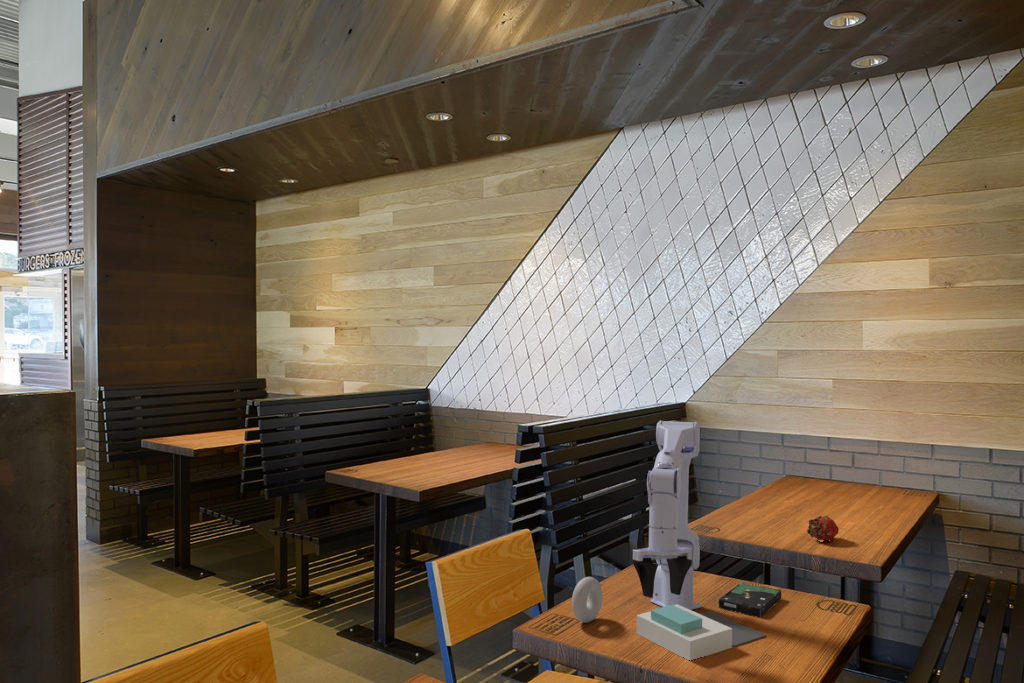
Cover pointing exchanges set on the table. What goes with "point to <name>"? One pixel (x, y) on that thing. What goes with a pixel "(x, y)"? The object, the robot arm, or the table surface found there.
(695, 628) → the teal rectangular block
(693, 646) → the white flat block
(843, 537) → the table surface
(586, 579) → the donut
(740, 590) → the disk drive
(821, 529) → the dragon fruit
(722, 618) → the mat
